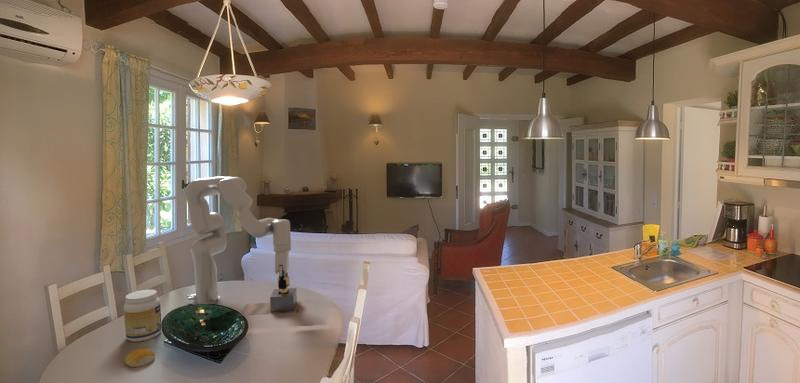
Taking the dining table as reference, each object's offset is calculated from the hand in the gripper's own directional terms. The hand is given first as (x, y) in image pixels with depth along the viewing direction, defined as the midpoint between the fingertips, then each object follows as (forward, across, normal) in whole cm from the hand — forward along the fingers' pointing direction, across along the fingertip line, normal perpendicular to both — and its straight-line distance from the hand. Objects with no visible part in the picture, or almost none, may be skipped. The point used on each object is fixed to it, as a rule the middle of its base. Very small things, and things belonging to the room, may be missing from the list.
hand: (283, 285), depth 178 cm
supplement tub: (+12, +17, -51) cm, 55 cm away
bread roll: (+12, +38, -43) cm, 58 cm away
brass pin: (+6, 0, 0) cm, 6 cm away
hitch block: (+10, 0, 0) cm, 10 cm away
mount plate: (+12, 0, -6) cm, 13 cm away
